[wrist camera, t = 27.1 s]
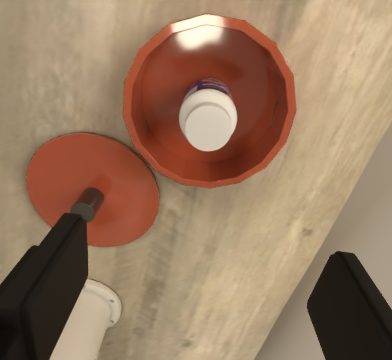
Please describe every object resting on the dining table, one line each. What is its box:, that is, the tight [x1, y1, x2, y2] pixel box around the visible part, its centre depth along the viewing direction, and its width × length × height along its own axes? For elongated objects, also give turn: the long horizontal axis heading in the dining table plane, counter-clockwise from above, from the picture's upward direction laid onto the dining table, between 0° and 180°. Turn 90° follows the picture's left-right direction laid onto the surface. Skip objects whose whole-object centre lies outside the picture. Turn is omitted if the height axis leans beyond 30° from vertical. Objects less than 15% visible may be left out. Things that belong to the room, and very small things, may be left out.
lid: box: [26, 133, 159, 247], centre depth 37 cm, size 18×18×5 cm
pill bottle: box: [179, 78, 237, 151], centre depth 28 cm, size 5×5×10 cm
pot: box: [123, 14, 296, 188], centre depth 30 cm, size 17×17×6 cm
